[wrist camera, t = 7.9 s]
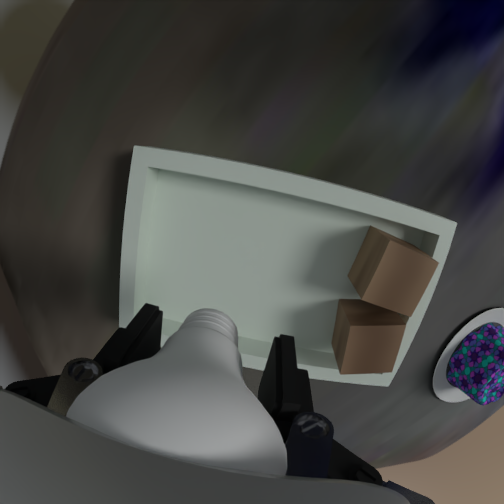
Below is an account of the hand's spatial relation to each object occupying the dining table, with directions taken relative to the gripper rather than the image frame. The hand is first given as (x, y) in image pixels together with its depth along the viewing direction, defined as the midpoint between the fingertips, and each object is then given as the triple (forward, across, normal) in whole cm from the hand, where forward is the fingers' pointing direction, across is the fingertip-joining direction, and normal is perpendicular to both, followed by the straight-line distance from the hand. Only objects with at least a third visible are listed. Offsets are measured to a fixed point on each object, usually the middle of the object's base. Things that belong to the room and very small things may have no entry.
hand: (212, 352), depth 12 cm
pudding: (+12, -26, +5) cm, 29 cm away
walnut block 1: (+11, -10, -3) cm, 15 cm away
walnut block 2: (+11, -10, +2) cm, 15 cm away
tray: (+11, -3, 0) cm, 12 cm away
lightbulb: (+2, 0, 0) cm, 2 cm away
